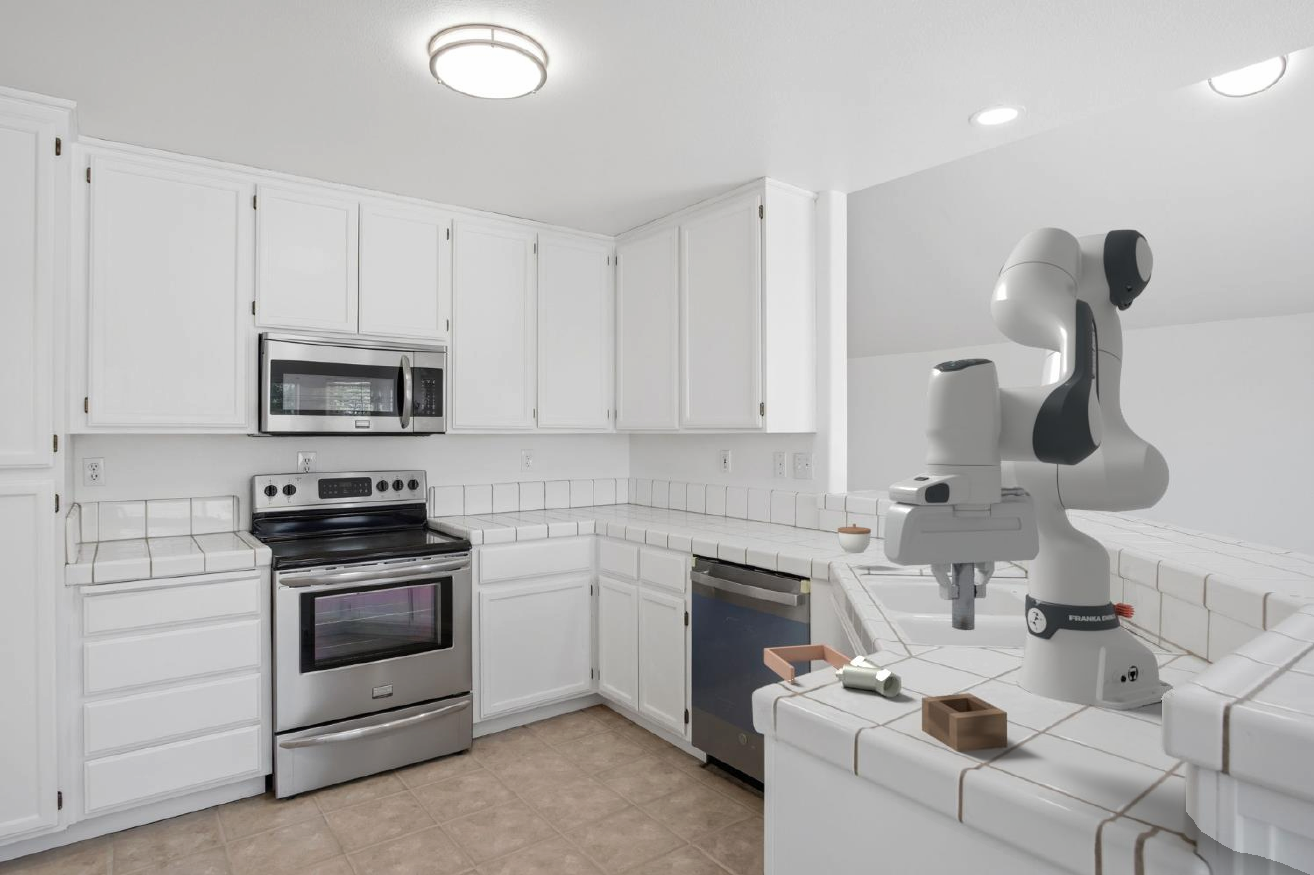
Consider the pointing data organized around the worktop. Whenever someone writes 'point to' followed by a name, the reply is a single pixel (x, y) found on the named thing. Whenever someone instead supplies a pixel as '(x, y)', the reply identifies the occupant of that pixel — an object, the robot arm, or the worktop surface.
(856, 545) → the lidded jar
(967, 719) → the block
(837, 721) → the worktop surface
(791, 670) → the corral
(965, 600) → the cylinder
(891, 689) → the pipe fitting
